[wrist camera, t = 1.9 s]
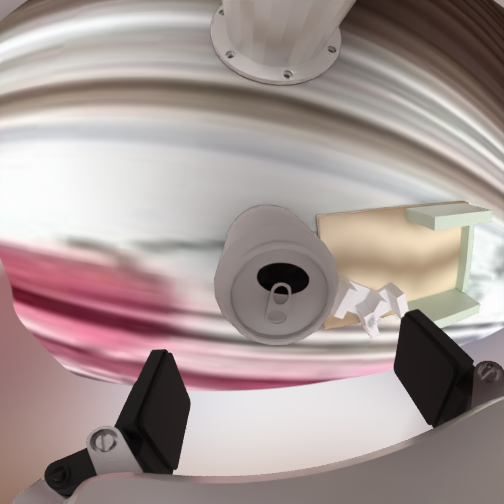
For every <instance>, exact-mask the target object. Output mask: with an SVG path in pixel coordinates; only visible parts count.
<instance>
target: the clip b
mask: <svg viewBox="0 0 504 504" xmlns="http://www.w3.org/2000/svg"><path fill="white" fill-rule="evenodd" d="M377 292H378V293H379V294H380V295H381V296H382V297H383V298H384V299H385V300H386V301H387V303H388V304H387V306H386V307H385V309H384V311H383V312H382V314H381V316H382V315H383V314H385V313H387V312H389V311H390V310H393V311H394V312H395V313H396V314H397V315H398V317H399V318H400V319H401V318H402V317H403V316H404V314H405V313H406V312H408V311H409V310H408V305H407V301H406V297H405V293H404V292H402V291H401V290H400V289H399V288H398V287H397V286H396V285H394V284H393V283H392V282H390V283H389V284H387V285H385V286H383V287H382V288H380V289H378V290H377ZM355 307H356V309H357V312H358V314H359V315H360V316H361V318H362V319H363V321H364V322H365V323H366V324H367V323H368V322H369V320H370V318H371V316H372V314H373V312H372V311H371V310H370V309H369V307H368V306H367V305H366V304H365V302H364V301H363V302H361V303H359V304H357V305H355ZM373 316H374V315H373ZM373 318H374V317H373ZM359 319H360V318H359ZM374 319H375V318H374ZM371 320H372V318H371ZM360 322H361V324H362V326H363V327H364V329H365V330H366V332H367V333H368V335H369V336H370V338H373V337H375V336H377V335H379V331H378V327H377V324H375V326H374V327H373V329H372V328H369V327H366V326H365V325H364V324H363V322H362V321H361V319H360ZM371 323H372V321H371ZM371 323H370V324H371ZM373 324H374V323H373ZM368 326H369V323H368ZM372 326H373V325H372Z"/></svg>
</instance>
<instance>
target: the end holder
mask: <svg viewBox="0 0 504 504" xmlns="http://www.w3.org/2000/svg"><path fill="white" fill-rule="evenodd" d="M406 220H408V221H411V222H414V223H416V224H419V225H421V226H424V227H427V228H429V229H432V230H434V231H436V230H442V229H449V228H455V227H461V242H460V254H459V264H458V272H457V280H456V286H455V288H454V289H451V290H447V291H444V292H441V293H437V294H434V295H430V296H427V297H423V298H420V299H416V300H412V301H408V302H407V305H408V310H409V311H412V310H415V309H419V310H420V311H421V312H423V313H424V314H425V315H426V316H427V317H428V318H429V319H430V320H431V321H433V322H434V323H435V324H436V325H437V326H438V327H439V328H442V327H445V326H448V325H450V324H453V323H456V322H458V321H461V320H463V319H466V318H468V317H470V316H473V315H475V314H477V313H478V312H479V308H480V304H479V303H478V302H477V301H475V300H474V299H472V298H471V297H470V296H468V295H467V294H465V293H464V292H465V291H467V288H468V282H469V276H470V269H471V261H472V252H473V240H474V225H475V224H482V223H488V222H492V210H489V209H485V208H481V207H477V206H473V205H469V204H465V203H457V204H445V205H434V206H423V207H413V208H406Z"/></svg>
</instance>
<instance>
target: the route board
mask: <svg viewBox="0 0 504 504" xmlns="http://www.w3.org/2000/svg"><path fill="white" fill-rule="evenodd" d="M457 203H465V204H468V202H465V201H456V202H444V203H432V204H420V205H409V206H399V207H389V208H379V209H370V210H360V211H352V212H343V213H334V214H326V215H318V216H316V219H317V230H318V238H319V239H321V240H322V241H323V242H324V243H325V244H326V246H327V248H328V249H329V251H330V252H331V254H332V256H333V257H334V259H335V261H336V266H337V271H338V275H339V276H341V277H343V278H346V279H348V280H351V281H353V282H356V283H358V284H361V285H363V286H366V287H368V288H371V289H373V290H376V291H377V290H378V289H380V288H382V287H383V286H385V285H387V284H389V283H390V282H392V283H393V284H394V285H396V286H397V287H398V288H399V289H400V290H401V291H402V292H404V293H405V297H406V301H407V302H408V301H412V300H416V299H420V298H423V297H427V296H430V295H434V294H437V293H441V292H444V291H447V290H451V289H454V288H455V286H456V280H457V272H458V264H459V254H460V242H461V227H455V228H449V229H442V230H436V231H434V230H432V229H429V228H427V227H424V226H421V225H419V224H416V223H414V222H411V221H408V220H406V208H413V207H423V206H434V205H445V204H457ZM393 314H396V313H395V312H394V311H393V310H390V311H389V312H387V313H385V314H383V315H382V316H380V318H381V317H385V316H389V315H393ZM355 323H360V319H359V317H358V315H357V314H355V313H352V312H349V311H347V312H346V314H345V316H344V318H343V319H341V318H338V317H335V316H333V314H332V312H330V314H329V316H328V318H327V320H326V321H325V322H324V323H323V324H322V325H323V327H324V329H325V330H326V329H331V328H336V327H341V326H346V325H351V324H355Z"/></svg>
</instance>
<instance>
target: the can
mask: <svg viewBox="0 0 504 504" xmlns="http://www.w3.org/2000/svg"><path fill="white" fill-rule="evenodd" d="M338 281H339V275H338V271H337V266H336V261H335V259H334V257H333V256H332V254H331V252H330V251H329V249H328V248H327V246H326V244H325V243H324V242H323V241H322V240H321V239H319V238H318V237H317V236H316V235H315V234H314V233H313V232H312V231H311V230H310V229H309V228H308V227H307V226H306V225H305V224H304V223H303V222H302V221H300V220H299V219H298V218H297V217H296V216H295V215H293V214H292V213H291V212H289V211H288V210H287V209H284V208H281V207H278V206H275V205H260V206H257V207H254V208H250V209H248V210H246V211H245V212H244V213H242V214H241V215H240V216H238V217H237V218H236V220H235V221H234V223H233V224H232V225H231V227H230V229H229V232H228V235H227V239H226V242H225V245H224V248H223V251H222V255H221V258H220V261H219V264H218V268H217V271H216V274H215V278H214V285H215V298H216V300H217V303H218V305H219V307H220V310H221V312H222V314H223V315H224V316H225V317H226V318H227V319H228V321H229V322H230V323H231V324H232V325H233V326H234V327H235V328H236V329H237V330H238V331H239V332H240V333H241V334H242V335H244V336H246V337H248V338H249V339H251V340H253V341H255V342H259V343H264V344H268V345H285V344H289V343H293V342H296V341H299V340H302V339H304V338H306V337H307V336H309V335H311V334H312V333H314V332H315V331H317V329H318V328H319V327H320V326H321V325H322V324H323V323H324V322H325V321H326V320H327V318H328V316H329V314H330V312H331V310H332V308H333V306H334V301H335V298H336V296H337V289H338Z"/></svg>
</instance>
